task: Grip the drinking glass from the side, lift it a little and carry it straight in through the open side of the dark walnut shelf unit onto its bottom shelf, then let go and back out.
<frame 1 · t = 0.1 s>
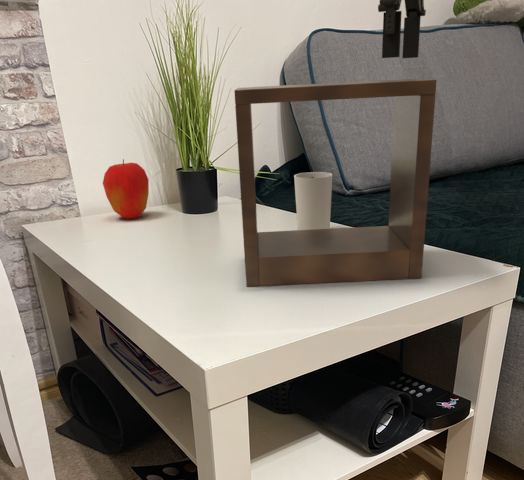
hand: (400, 58, 100), 28 cm above the table, tool pointing down, fingers open, 13 cm apart
drinking glass: (313, 233, 104), on the table
shelf unit: (328, 267, 85), on the table
apple: (131, 218, 123), on the table
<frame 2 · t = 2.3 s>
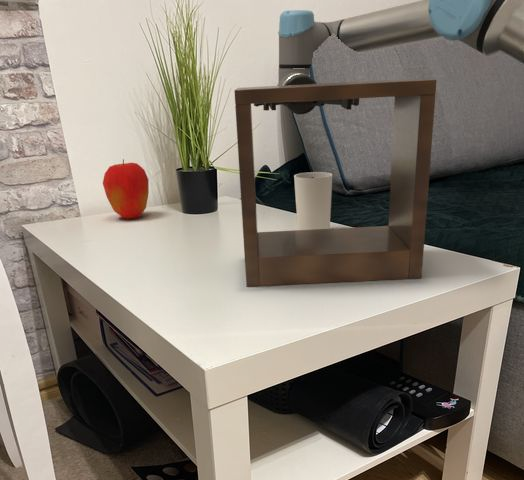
hand: (311, 101, 103), 21 cm above the table, tool horizontal, fingers open, 13 cm apart
nothing on the table moved.
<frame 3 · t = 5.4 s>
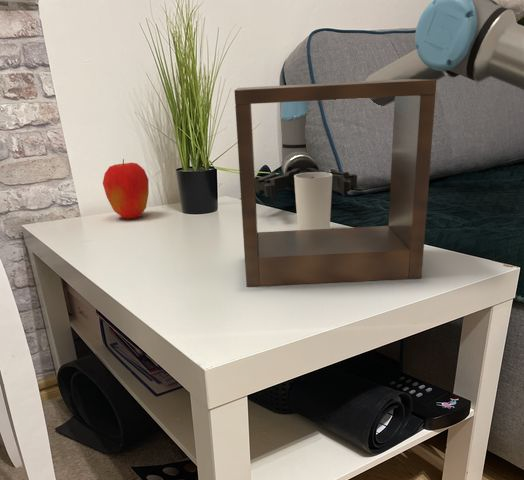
hand: (309, 190, 107), 6 cm above the table, tool horizontal, fingers open, 13 cm apart
nothing on the table moved.
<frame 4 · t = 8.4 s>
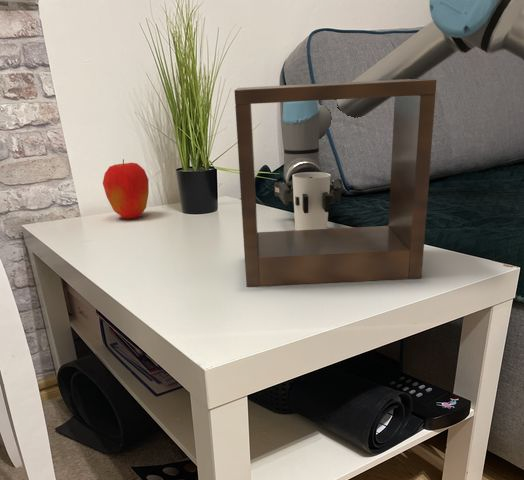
hand: (316, 204, 96), 6 cm above the table, tool horizontal, fingers closed on drinking glass, 3 cm apart
drinking glass: (311, 233, 104), on the table, touching gripper
everything else where it was.
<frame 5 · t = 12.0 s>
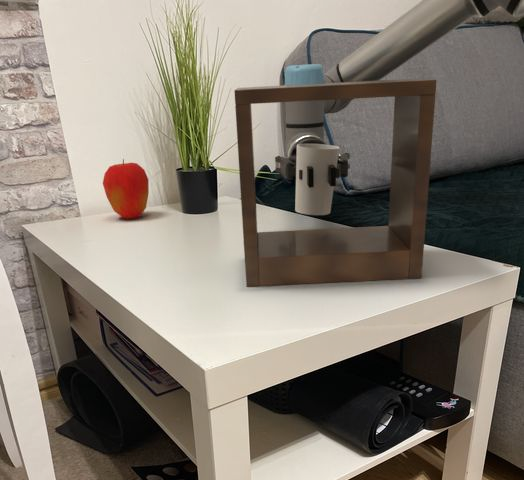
hand: (322, 177, 86), 12 cm above the table, tool horizontal, fingers closed on drinking glass, 3 cm apart
drinking glass: (312, 212, 93), point 6 cm above the table, touching gripper
everything else where it was.
when the fingers open (10 cm above the table, at t = 15.7 s): drinking glass stays where it is, resting on shelf unit.
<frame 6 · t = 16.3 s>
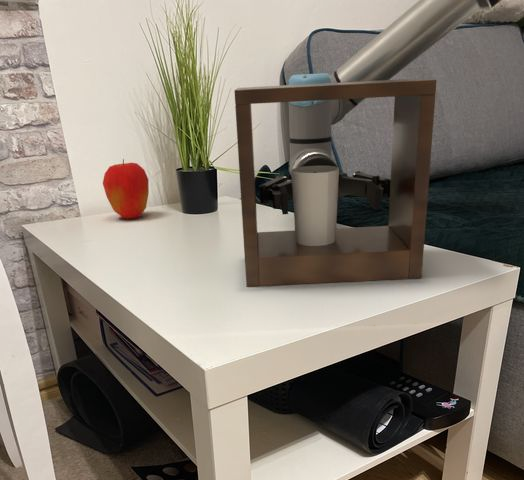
hand: (331, 201, 77), 10 cm above the table, tool horizontal, fingers open, 12 cm apart
drinking glass: (315, 242, 84), point 4 cm above the table, touching shelf unit
everything else where it was.
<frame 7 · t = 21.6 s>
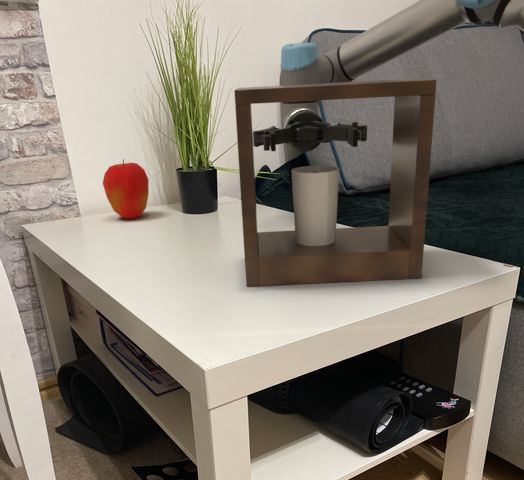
hand: (314, 140, 95), 16 cm above the table, tool horizontal, fingers open, 13 cm apart
nothing on the table moved.
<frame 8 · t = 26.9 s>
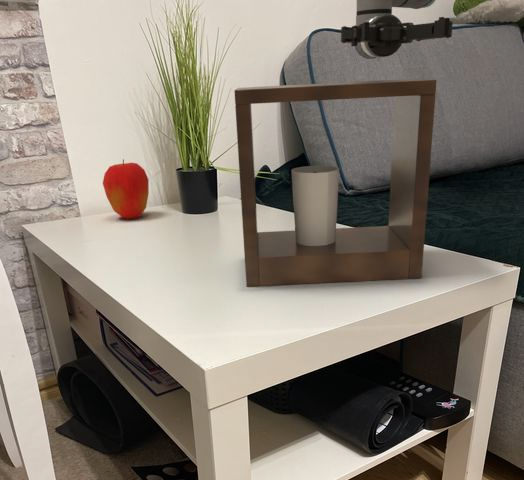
hand: (406, 28, 98), 32 cm above the table, tool horizontal, fingers open, 13 cm apart
nothing on the table moved.
at the end: drinking glass inside the target area on the shelf unit (1.8 cm from its centre), point 3.8 cm above the shelf unit's base; drinking glass tilted 0°; the gripper is holding nothing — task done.
